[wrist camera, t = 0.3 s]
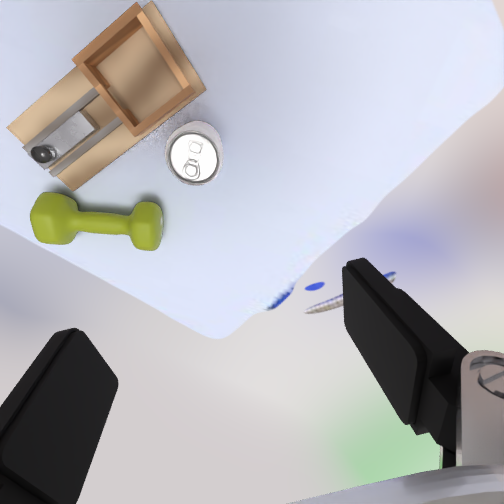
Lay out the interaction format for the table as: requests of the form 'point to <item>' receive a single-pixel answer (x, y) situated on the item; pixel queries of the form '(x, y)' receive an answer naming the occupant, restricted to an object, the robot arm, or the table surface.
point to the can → (194, 153)
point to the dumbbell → (94, 222)
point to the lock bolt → (64, 139)
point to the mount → (114, 93)
